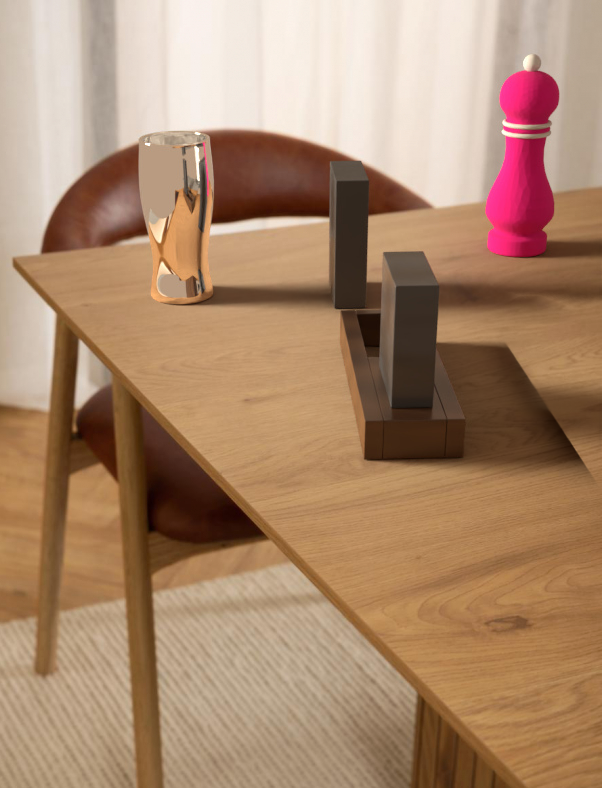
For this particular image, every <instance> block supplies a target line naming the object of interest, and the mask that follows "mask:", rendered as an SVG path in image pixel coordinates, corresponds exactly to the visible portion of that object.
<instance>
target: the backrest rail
mask: <svg viewBox="0 0 602 788" xmlns="http://www.w3.org/2000/svg"><path fill="white" fill-rule="evenodd" d="M381 264H382V265H381V266H382V270H381V293H380V294H381V297H380V298H381V300H380V309H345V310H344V309H341V310H340V311H339V312H340V313H339V314H340V315H339V317H340V318H339V344H340V350H341V354H342V359H343V365H344V369H345V374H346V379H347V384H348V387H349V388H348V389H349V394H350V398H351V402H352V408H353V413H354V418H355V422H356V427H357V431H358V437H359V441H360V446H361V450H362V456H363V459H364V460H402V459H403V460H405V459H406V460H407V459H444V458H445V459H448V458H451V459H452V458H455V459H456V458H463V457H464V451H465V449H464V448H465V435H466V417H465V414H464V412H463V409H462V407H461V405H460V402H459V399H458V397H457V395H456V392H455V389H454V386H453V385H452V382H451V379H450V378H449V375H448V372H447V370H446V367H445V365H444V363H443V360H442V357H441V355H440V353H439V350H438V347H437V341H438V339H437V338H438V325H439V324H438V322H439V304H440V290H441V289H440V288H441V287H440V284H439V282H438V280H437V277H436V275H435V273H434V271H433V269H432V267H431V265H430V263H429V260H428V258H427V256H426V254H425V252H424V251H423V250H418V251H417V250H415V251H410V250H409V251H383V252H382V263H381ZM366 347H379V355H378V356H368V353H367V351H366V350H367V349H366Z"/></svg>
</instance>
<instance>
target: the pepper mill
mask: <svg viewBox="0 0 602 788" xmlns="http://www.w3.org/2000/svg"><path fill="white" fill-rule="evenodd" d="M522 65H523V68H524V69H523V70H520V71H516V72H515V73H512V74H511V75H510V76H508V77H507V78H506V79H505V81H504V82H503V84H502V86H501V87H500V92H499V96H498V98H499V107H500V109H501V110H502V112H503V113H504V114H505V117H506V118H504V119H503V120H502V130H501V134H502V135H503V136H505V151H504V159H503V161H502V165H501V168H500V170H499V172H498V174H497V176H496V178H495V180H494V182H493V184H492V186H491V188H490V190H489V193H488V195H487V198H486V202H485V209H484V210H485V216H486V218H487V219H488V221H489V222H490V224H491V226H492V227H493V228H491V229H490V230H489V231H488V232H487V245H486V246H487V249H488V250H489V252H491V253H493V254H496V255H498V256H499V255H500V256H504V257H512V258H528V257H529V258H530V257H535V256H539V255H542V254H544V253H545V252H546V250H547V242H548V234H547V232H546V231H545V230H544V228H545V227H546V226H548V224H549V223H550V222H551V221H552V220H553V217H554V216H555V198H554V193H553V189H552V187H551V184H550V182H549V178H548V176H547V171H546V168H545V167H546V166H545V148H546V142H547V138H548V137H549V136H551V134H552V131H551V127H552V125H553V122H552V120H550V117H551V116H552V114H553V113H554V112H555V111H556V110H557V109H558V106H559V104H560V88H559V84H558V83H557V81H556V79H554V77H553V76H552V75H551V74H549V73H547V72H545V71H541V70H540V68H541V66H542V60H541V58H540V56H539V55H538V54H535V53H531V54H528V55H526V56H525V58H524V59H523V63H522Z"/></svg>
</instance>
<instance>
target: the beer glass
mask: <svg viewBox="0 0 602 788" xmlns="http://www.w3.org/2000/svg"><path fill="white" fill-rule="evenodd" d="M138 186H139V187H138V188H139V197H140V203H141V204H140V205H141V209H142V214H143V218H144V222H145V227H146V232H147V235H148V240H149V244H150V249H151V255H152V256H151V257H152V277H151V286H150V296H151V298H152V299H153V300H155V301H156V302H159V303H162V304H168V305H190V304H197V303H201V302H204V301H206V300H208V299H210V298H211V297H212V296H213V294H214V285H213V281H212V278H211V274H210V266H209V243H210V235H211V228H212V227H211V226H212V220H213V213H214V212H213V211H214V199H215V178H214V166H213V156H212V149H211V137H210V136H209V134H206V133H204V132H200V131H193V130H192V131H191V130H166V131H157V132H150V133H148V134H143V135H142V136H139V138H138Z"/></svg>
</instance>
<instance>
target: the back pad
mask: <svg viewBox="0 0 602 788" xmlns="http://www.w3.org/2000/svg"><path fill="white" fill-rule="evenodd" d="M363 164H364V163H363V162H362V160H330V161H329V215H328V216H329V219H328V220H329V221H328V222H329V225H328V227H329V228H328V236H329V237H328V286H329V290H330V294H331V298H332V303H333V308H334V309H366V308H367V288H368V287H367V286H368V285H367V284H368V283H367V282H368V281H367V280H368V251H369V250H368V249H369V248H368V246H369V245H368V244H369V210H370V209H369V208H370V179H369V176H368V174H367V172H366V170H365V167H364V165H363Z"/></svg>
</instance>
